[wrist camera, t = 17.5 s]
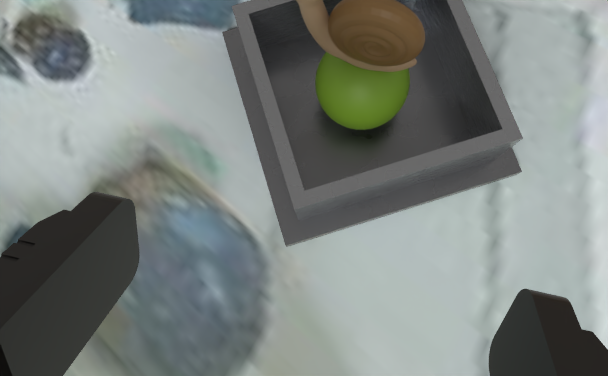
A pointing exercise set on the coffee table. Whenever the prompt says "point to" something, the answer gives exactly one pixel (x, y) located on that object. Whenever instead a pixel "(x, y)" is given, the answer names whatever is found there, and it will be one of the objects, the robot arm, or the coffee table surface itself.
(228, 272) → the coffee table surface
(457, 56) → the duct collar
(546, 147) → the coffee table surface
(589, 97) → the coffee table surface
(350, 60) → the snail figurine
